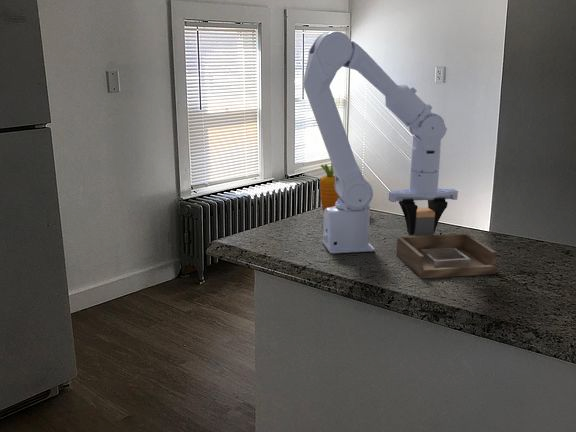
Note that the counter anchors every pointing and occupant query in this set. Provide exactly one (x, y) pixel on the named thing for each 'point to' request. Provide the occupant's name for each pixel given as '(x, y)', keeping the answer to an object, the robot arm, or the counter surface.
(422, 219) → the two-tone rectangular block
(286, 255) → the counter surface
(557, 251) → the counter surface
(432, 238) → the walnut box
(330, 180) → the carrot
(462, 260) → the frame
